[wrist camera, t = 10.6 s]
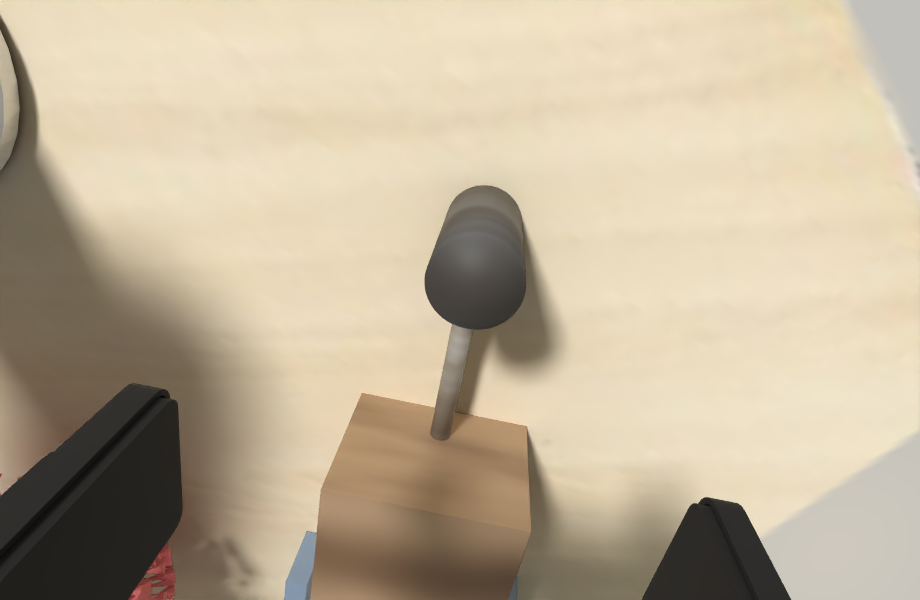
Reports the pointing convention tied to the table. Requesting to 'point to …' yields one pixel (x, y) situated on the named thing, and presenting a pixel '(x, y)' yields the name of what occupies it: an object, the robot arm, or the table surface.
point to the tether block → (436, 447)
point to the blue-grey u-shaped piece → (303, 572)
